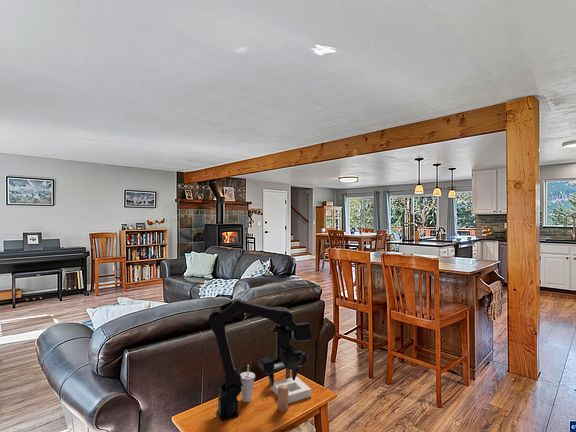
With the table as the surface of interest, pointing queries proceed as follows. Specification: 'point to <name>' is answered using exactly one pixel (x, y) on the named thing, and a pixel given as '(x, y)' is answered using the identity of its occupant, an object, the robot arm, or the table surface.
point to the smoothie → (247, 385)
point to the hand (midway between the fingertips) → (283, 382)
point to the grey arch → (280, 367)
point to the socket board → (297, 385)
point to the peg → (283, 398)
